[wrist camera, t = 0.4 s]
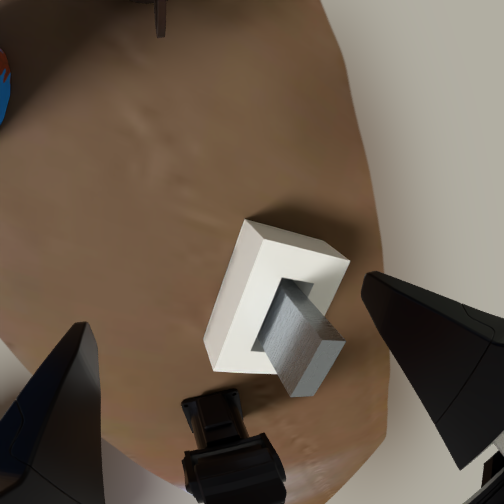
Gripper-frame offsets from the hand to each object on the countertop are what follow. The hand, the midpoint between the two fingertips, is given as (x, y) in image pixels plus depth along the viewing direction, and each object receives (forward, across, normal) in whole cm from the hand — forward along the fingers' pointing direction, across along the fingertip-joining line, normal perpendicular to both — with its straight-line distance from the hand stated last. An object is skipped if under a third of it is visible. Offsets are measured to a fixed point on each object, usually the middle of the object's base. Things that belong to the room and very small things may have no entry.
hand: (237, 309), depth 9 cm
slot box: (+15, -6, +11) cm, 20 cm away
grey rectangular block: (+14, -6, +11) cm, 19 cm away
